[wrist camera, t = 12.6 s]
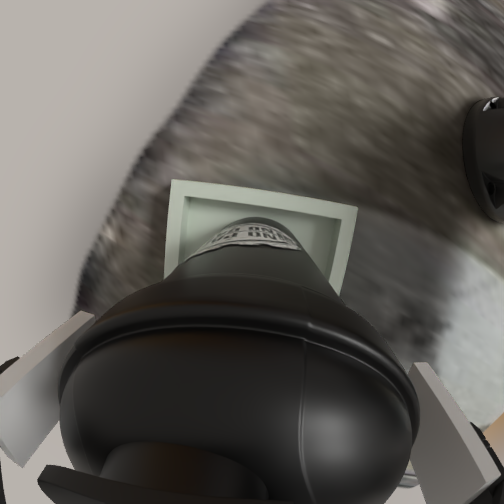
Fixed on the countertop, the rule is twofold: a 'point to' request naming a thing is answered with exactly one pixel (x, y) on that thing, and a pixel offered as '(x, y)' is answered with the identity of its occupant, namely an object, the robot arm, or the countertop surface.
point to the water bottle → (234, 388)
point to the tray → (258, 205)
